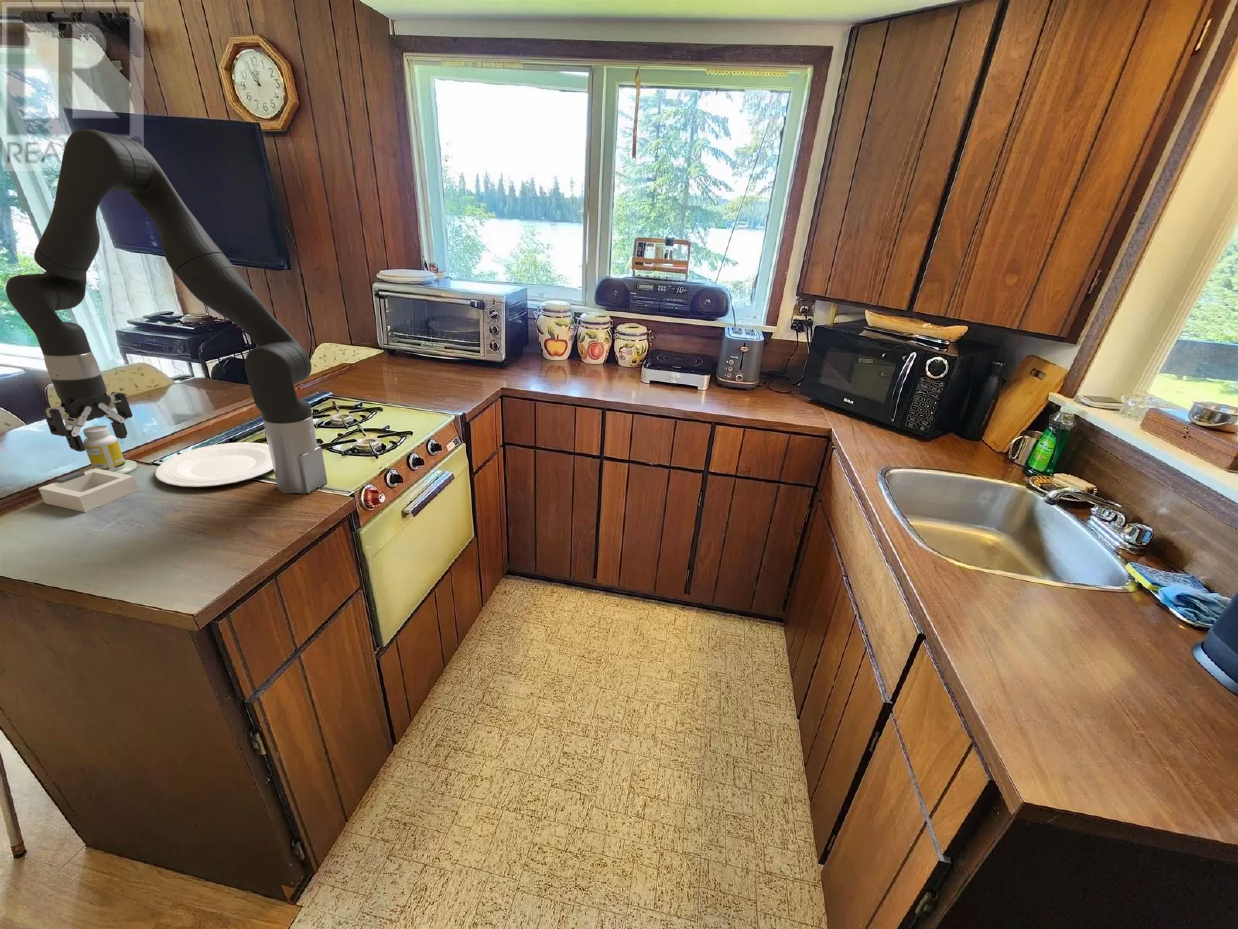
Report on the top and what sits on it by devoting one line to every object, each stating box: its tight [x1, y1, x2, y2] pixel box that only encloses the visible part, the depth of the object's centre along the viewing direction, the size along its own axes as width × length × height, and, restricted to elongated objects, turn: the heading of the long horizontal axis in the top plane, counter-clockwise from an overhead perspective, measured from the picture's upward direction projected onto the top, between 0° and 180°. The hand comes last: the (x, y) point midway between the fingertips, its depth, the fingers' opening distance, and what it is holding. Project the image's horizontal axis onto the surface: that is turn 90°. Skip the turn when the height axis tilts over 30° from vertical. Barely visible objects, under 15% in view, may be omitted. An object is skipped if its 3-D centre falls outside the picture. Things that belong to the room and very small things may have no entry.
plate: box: [154, 441, 274, 488], centre depth 121 cm, size 25×25×2 cm
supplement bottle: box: [82, 425, 126, 471], centre depth 112 cm, size 5×5×10 cm
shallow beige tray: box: [38, 468, 139, 513], centre depth 104 cm, size 10×10×4 cm
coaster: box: [82, 459, 138, 475], centre depth 115 cm, size 9×9×1 cm
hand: (101, 444), depth 112 cm, fingers open, 8 cm apart
